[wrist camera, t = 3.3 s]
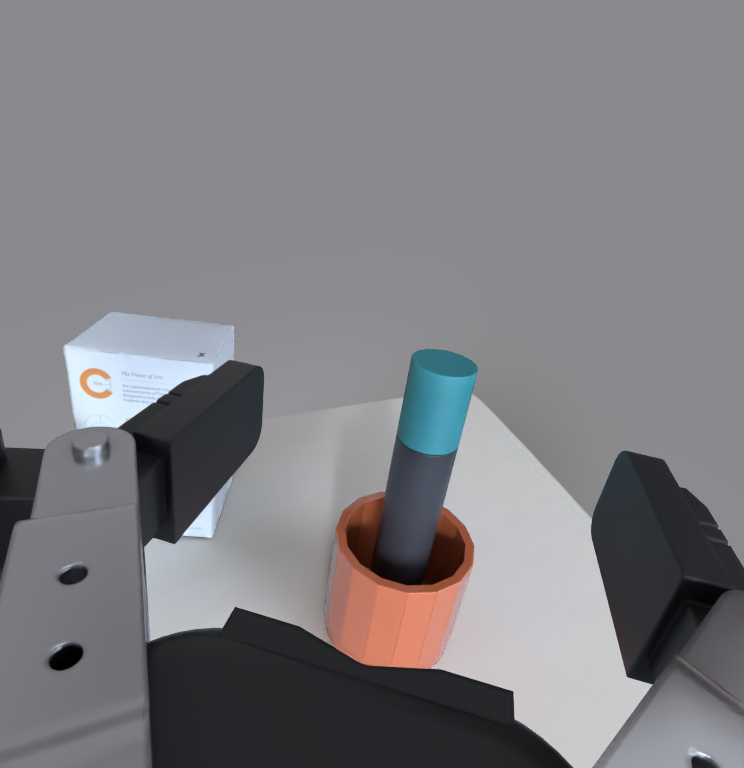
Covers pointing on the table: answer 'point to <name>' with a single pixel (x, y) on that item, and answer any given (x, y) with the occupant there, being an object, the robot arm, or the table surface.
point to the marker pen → (422, 462)
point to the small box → (143, 374)
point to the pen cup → (394, 592)
